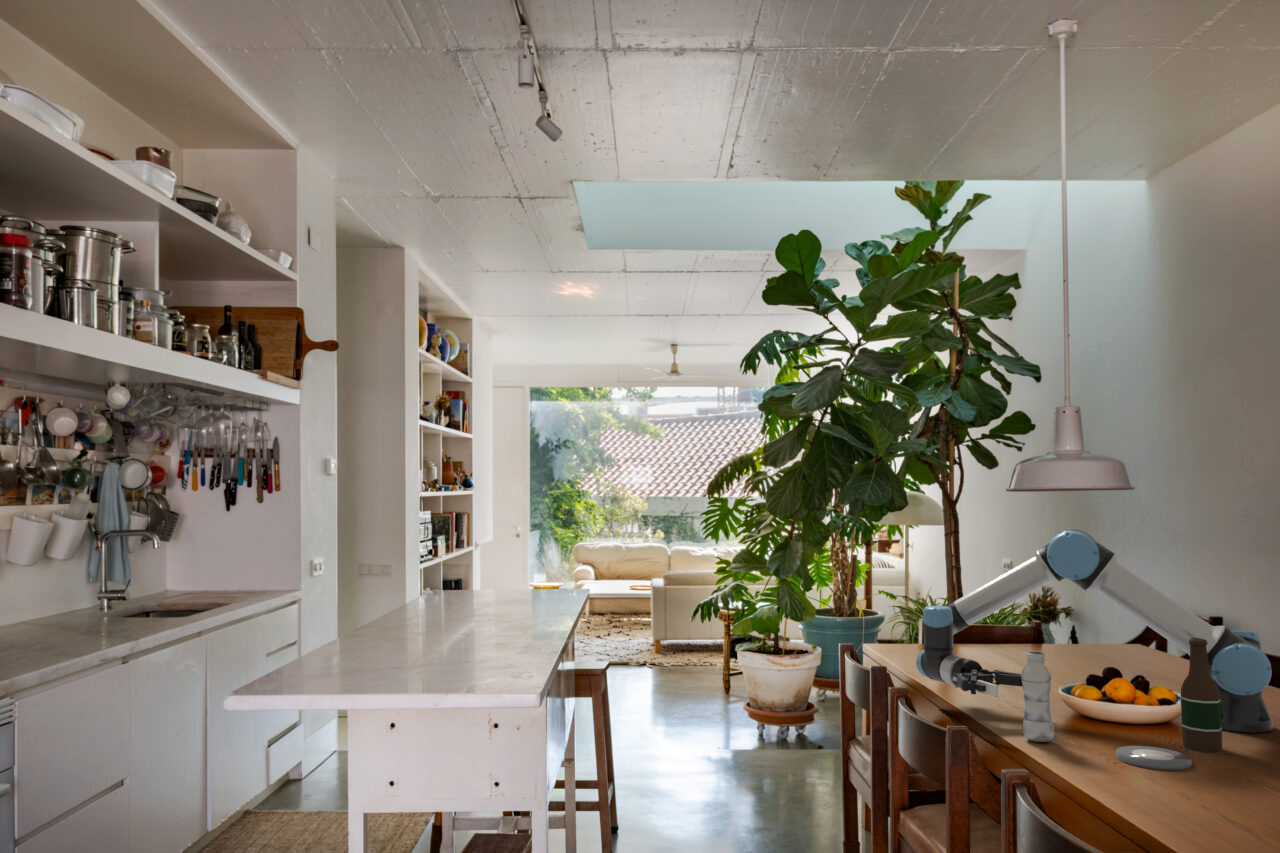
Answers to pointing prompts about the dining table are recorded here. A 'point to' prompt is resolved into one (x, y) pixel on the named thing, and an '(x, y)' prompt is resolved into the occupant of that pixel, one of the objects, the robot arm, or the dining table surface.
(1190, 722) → the beer bottle
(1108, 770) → the dining table surface
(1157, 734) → the dining table surface
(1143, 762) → the coaster
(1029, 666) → the plastic bottle
